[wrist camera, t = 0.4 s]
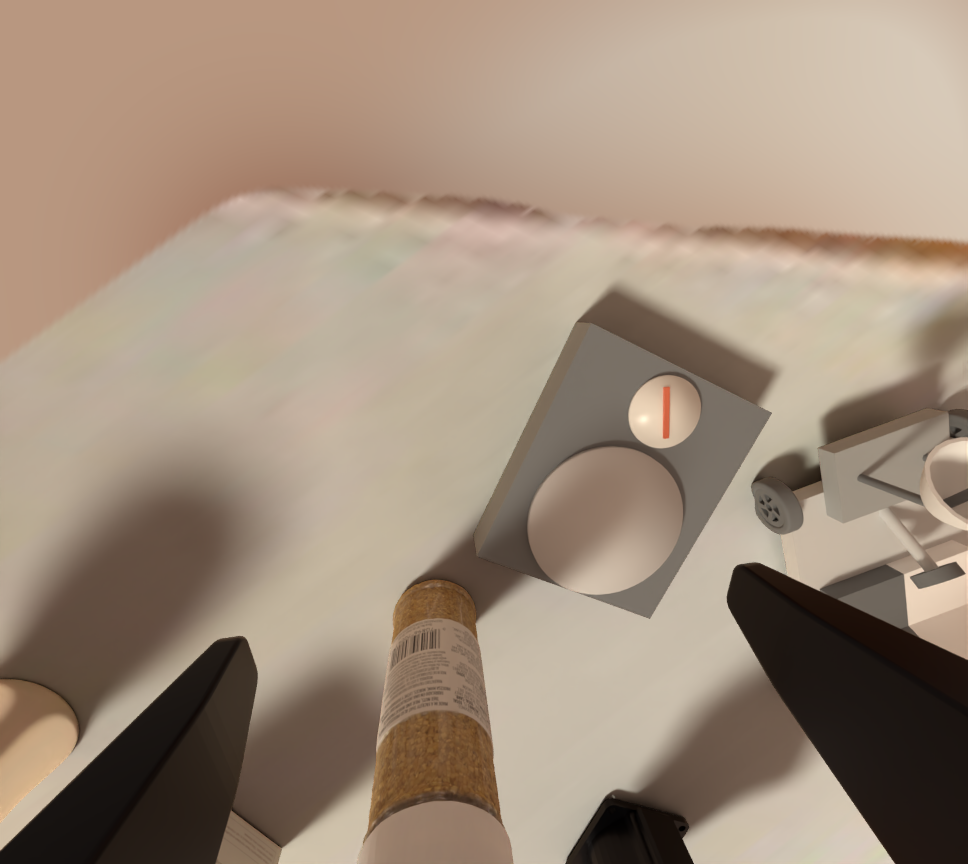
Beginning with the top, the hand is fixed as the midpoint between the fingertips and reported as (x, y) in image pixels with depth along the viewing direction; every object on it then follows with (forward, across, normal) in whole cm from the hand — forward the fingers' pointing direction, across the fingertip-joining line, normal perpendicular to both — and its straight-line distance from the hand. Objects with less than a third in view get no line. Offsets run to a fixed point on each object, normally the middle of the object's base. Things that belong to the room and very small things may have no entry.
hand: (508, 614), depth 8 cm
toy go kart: (+12, -24, +11) cm, 29 cm away
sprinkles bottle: (+13, +1, +13) cm, 18 cm away
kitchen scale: (+13, -8, +5) cm, 16 cm away
